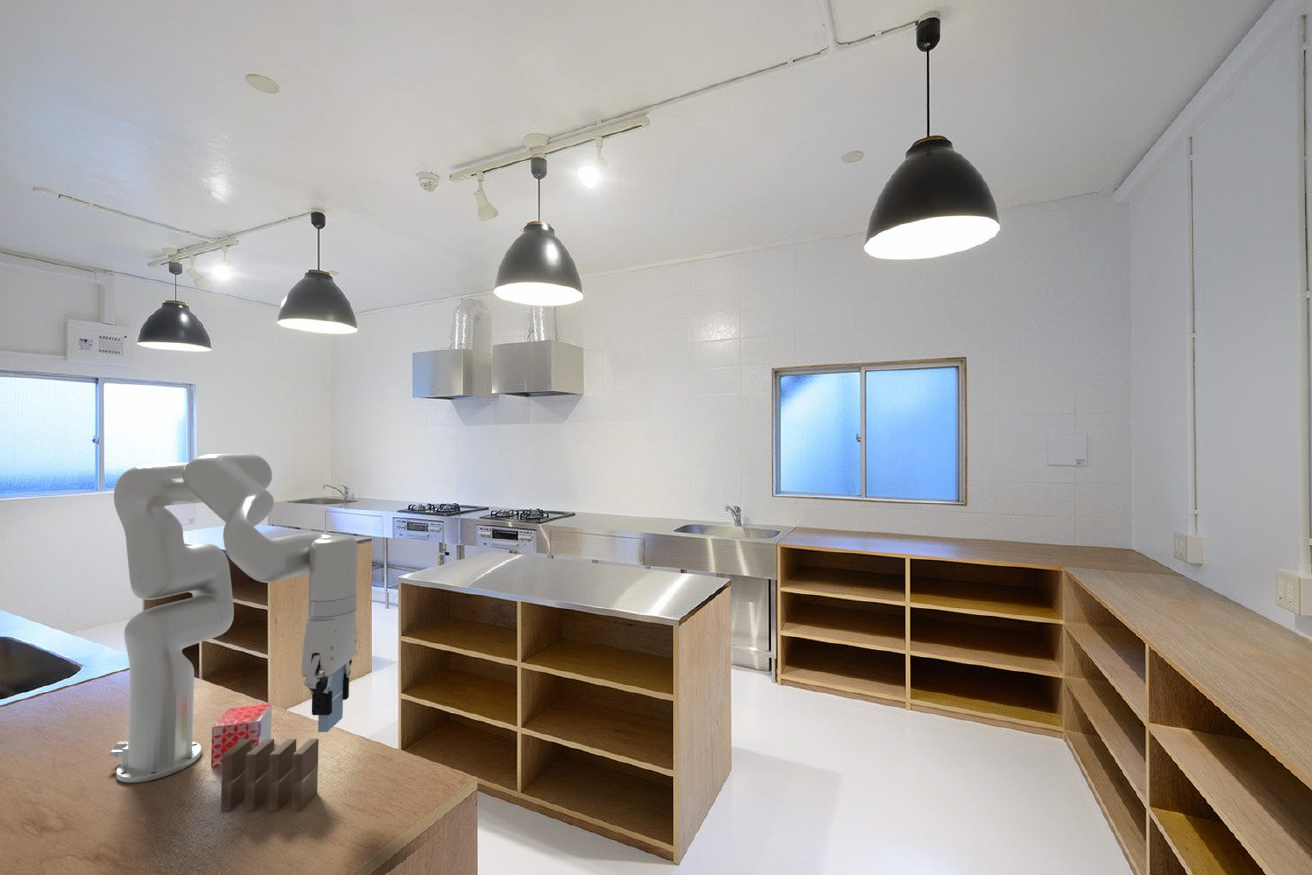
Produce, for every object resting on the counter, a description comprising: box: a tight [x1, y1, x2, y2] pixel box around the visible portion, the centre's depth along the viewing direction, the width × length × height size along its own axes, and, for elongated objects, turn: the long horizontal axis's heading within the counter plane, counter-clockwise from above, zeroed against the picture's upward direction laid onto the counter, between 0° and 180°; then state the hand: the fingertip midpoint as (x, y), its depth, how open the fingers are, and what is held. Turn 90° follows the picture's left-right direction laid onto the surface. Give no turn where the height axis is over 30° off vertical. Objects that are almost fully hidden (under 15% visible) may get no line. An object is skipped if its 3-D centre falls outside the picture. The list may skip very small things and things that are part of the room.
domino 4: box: [291, 738, 320, 812], centre depth 97 cm, size 2×5×10 cm, turn 3°
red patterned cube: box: [210, 702, 273, 768], centre depth 112 cm, size 8×8×8 cm
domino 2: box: [244, 738, 275, 813], centre depth 97 cm, size 2×5×10 cm, turn 3°
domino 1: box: [220, 739, 252, 813], centre depth 97 cm, size 2×5×10 cm, turn 3°
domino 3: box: [267, 738, 298, 813], centre depth 97 cm, size 2×5×10 cm, turn 3°
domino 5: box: [317, 666, 344, 733], centre depth 98 cm, size 2×5×10 cm, turn 2°
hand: (330, 705), depth 98 cm, fingers closed on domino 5, 4 cm apart
